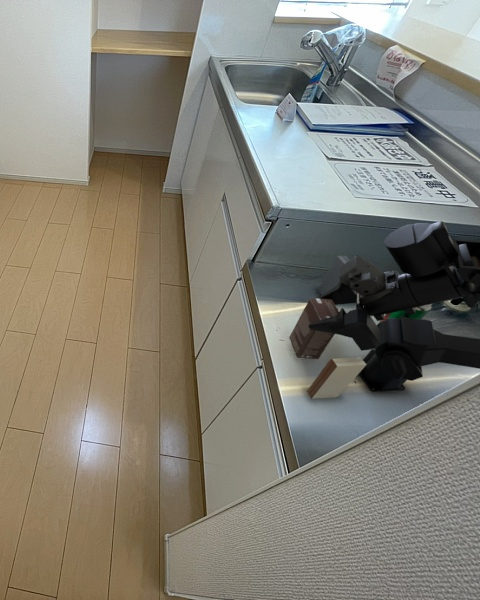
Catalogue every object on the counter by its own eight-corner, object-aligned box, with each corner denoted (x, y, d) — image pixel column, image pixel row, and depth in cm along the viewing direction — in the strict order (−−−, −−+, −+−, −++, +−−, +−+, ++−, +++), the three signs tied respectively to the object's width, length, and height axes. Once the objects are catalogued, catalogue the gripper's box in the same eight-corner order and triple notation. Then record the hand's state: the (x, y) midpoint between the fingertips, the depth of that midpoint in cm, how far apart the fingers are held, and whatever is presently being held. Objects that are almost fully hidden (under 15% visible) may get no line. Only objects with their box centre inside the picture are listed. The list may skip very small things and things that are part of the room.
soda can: (374, 343, 76) (407, 305, 67) (369, 326, 79) (399, 288, 71) (402, 348, 74) (439, 309, 66) (395, 330, 78) (429, 292, 69)
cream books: (337, 397, 67) (366, 364, 60) (311, 398, 67) (336, 366, 60) (332, 389, 68) (360, 356, 61) (306, 391, 69) (331, 358, 61)
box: (319, 360, 71) (345, 320, 63) (296, 358, 72) (318, 319, 64) (310, 337, 76) (332, 298, 67) (287, 336, 76) (307, 297, 68)
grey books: (334, 300, 85) (356, 266, 78) (325, 301, 85) (346, 266, 78) (325, 289, 88) (345, 255, 80) (317, 290, 88) (337, 256, 81)
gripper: (387, 223, 60) (294, 258, 72) (393, 288, 49) (281, 317, 61) (417, 270, 62) (322, 296, 74) (429, 342, 51) (315, 360, 63)
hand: (311, 315), depth 68 cm, fingers closed on box, 7 cm apart
